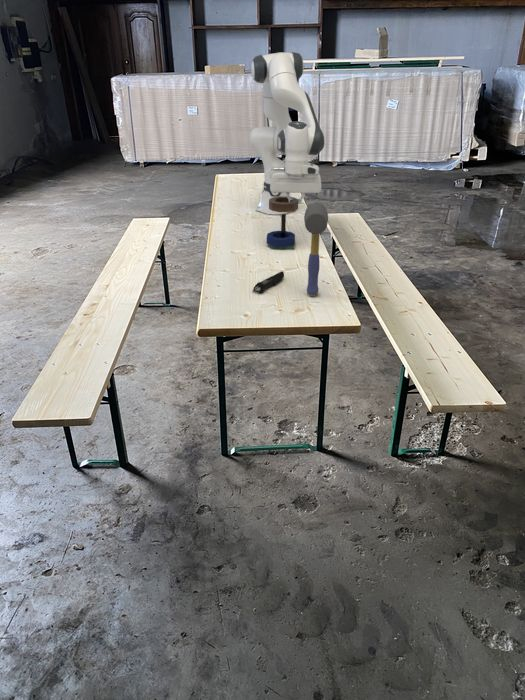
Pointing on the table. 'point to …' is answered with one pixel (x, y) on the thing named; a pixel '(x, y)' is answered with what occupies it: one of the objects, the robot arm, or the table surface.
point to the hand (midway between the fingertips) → (295, 203)
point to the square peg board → (283, 232)
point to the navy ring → (280, 239)
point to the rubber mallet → (314, 242)
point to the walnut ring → (283, 204)
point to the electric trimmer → (268, 282)
